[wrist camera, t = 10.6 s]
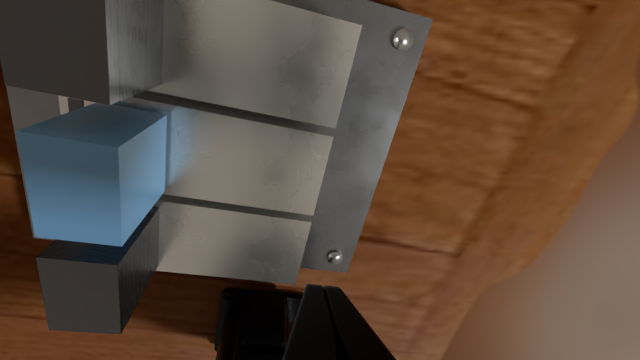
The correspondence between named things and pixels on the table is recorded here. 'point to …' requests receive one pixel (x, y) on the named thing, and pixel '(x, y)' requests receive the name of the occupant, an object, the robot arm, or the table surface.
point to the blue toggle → (93, 172)
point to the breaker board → (218, 131)
